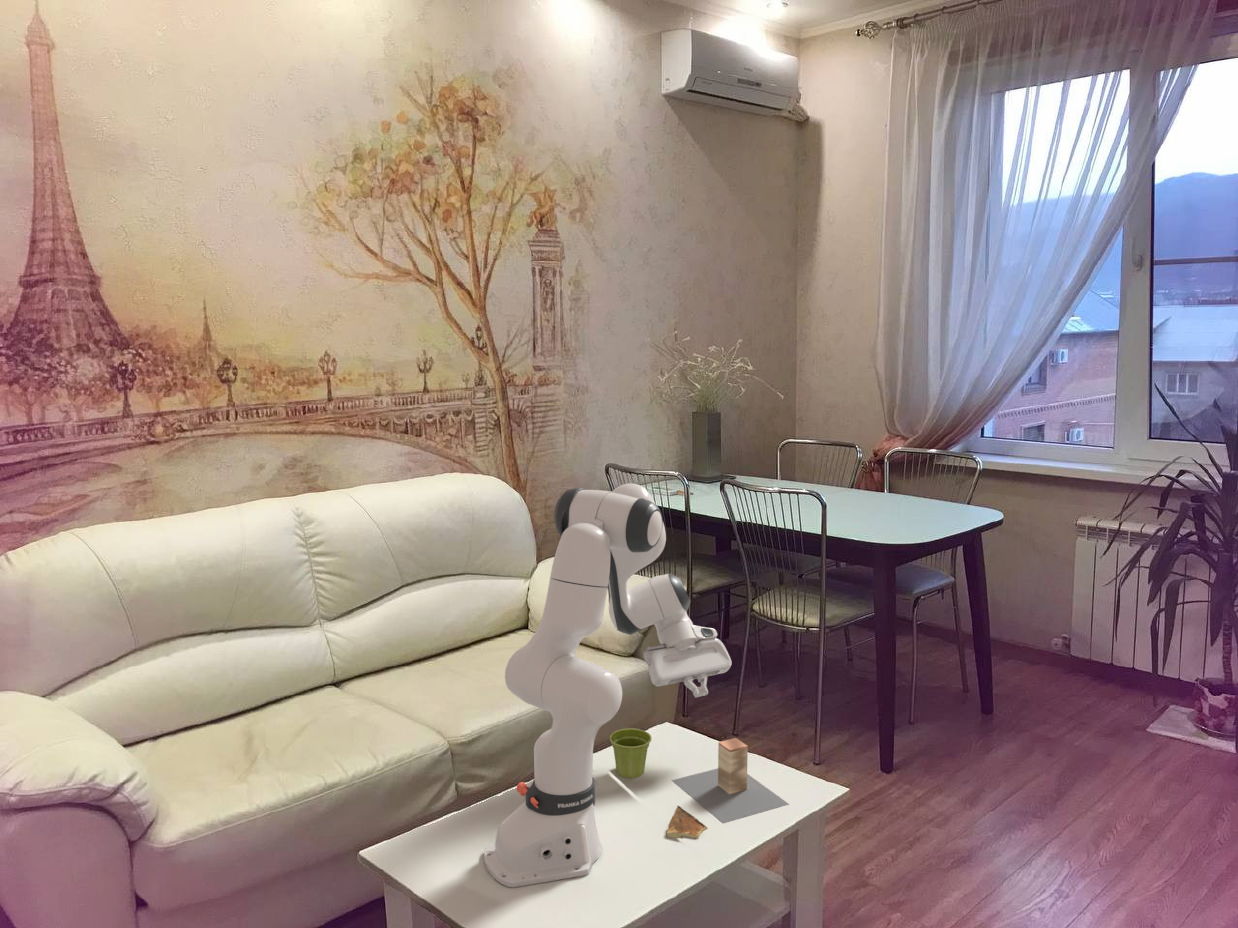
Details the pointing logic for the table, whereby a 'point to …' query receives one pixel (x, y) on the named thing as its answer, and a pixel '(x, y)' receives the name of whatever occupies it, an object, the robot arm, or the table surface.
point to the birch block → (732, 765)
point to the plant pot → (630, 751)
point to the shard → (684, 825)
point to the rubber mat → (729, 796)
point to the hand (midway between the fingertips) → (701, 695)
